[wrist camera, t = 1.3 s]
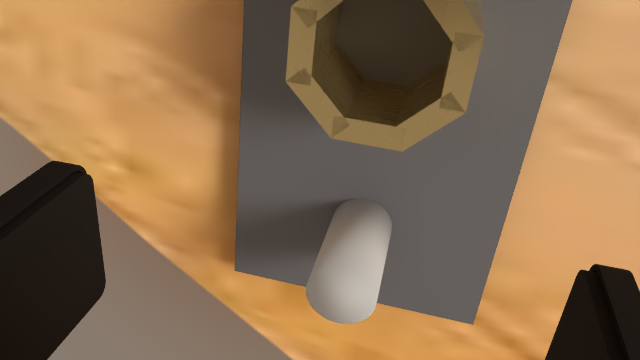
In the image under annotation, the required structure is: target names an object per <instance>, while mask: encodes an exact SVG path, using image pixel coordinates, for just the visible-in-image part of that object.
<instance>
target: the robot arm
mask: <svg viewBox="0 0 640 360" xmlns="http://www.w3.org/2000/svg"><path fill="white" fill-rule="evenodd" d="M105 283H106V280H105V271H104V263H103V255H102V247H101V239H100V232H99V224H98V216H97V208H96V200H95V192H94V184H93V179H92V177H91V176H90V175H88V174H87V173H86V171H85V169H84V168H83V167H82V166H80V165H75V164H69V163H64V162H59V161H51V162H49V163H47V164H46V165H44V166H43V167H42V168H40V169H39V170H37V171H36V172H34V173H33V174H32V175H30V176H29V177H27V178H26V179H24V180H23V181H21V182H20V183H19V184H17V185H16V186H14V187H13V188H12V189H10V190H9V191H7V192H6V193H4V194H3V195H1V196H0V360H47V359H48V358H49V357H50V356H51V354H52V353H53V352H54V351H55V350H56V349H57V347H58V346H59V345H60V344H61V343H62V341H63V340H64V339H65V338H66V337H67V336H68V335H69V333H70V332H71V331H72V330H73V329H74V328H75V326H76V325H77V324H78V323H79V322H80V321H81V319H82V318H83V317H84V316H85V315H86V314H87V313H88V311H89V310H90V309H91V308H92V307H93V306H94V304H95V303H96V302H97V301H98V300H99V298H100V297H101V296H102V294H103V292H104V288H105ZM545 360H640V291H639V289H638V286H637V284H636V281H635V279H634V276H633V274H632V273H631V271H629V270H624V269H619V268H614V267H609V266H603V265H598V264H595V265H593V266H592V267H591V268H590V270H589V271H586V270H580V271H579V272H578V274H577V276H576V279H575V281H574V284H573V287H572V289H571V292H570V295H569V297H568V300H567V303H566V305H565V308H564V310H563V313H562V316H561V318H560V321H559V324H558V326H557V329H556V332H555V334H554V337H553V340H552V342H551V345H550V348H549V350H548V353H547V355H546V358H545Z"/></svg>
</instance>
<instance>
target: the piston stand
mask: <svg viewBox="0 0 640 360" xmlns="http://www.w3.org/2000/svg"><path fill="white" fill-rule="evenodd" d="M297 1H298V0H244V22H243V51H242V79H241V108H240V136H239V165H238V193H237V222H236V251H235V271H238V272H243V273H247V274H252V275H256V276H260V277H265V278H269V279H274V280H278V281H283V282H287V283H291V284H296V285H300V286H305V287H306V295H307V299H308V301H309V303H310V305H311V306H312V308H313V309H314V310H315V311H316V312H317V313H318V314H320V315H321V316H323V317H324V318H326V319H328V320H330V321H333V322H337V323H342V324H352V323H357V322H360V321H363V320H364V319H366V318H368V317H369V316H370V315H371V314H372V313H373V311H374V309H375V307H376V304H377V303H380V304H384V305H389V306H393V307H398V308H402V309H406V310H411V311H415V312H420V313H424V314H429V315H433V316H437V317H442V318H446V319H451V320H455V321H460V322H464V323H468V324H473V323H474V320H475V316H476V313H477V310H478V307H479V303H480V300H481V297H482V294H483V290H484V287H485V284H486V281H487V277H488V274H489V271H490V268H491V264H492V261H493V258H494V254H495V251H496V248H497V245H498V241H499V238H500V235H501V232H502V228H503V225H504V222H505V219H506V215H507V212H508V209H509V205H510V202H511V199H512V196H513V192H514V189H515V186H516V183H517V179H518V176H519V173H520V170H521V166H522V163H523V160H524V157H525V153H526V150H527V147H528V143H529V140H530V137H531V134H532V130H533V127H534V124H535V121H536V117H537V114H538V111H539V108H540V104H541V101H542V98H543V95H544V91H545V88H546V85H547V81H548V78H549V75H550V72H551V68H552V65H553V62H554V59H555V55H556V52H557V49H558V46H559V42H560V39H561V36H562V32H563V29H564V26H565V23H566V19H567V16H568V13H569V10H570V6H571V3H572V0H476V1H477V2H478V4H479V5H480V7H481V11H482V20H483V29H484V39H483V44H482V48H481V52H480V56H479V60H478V64H477V68H476V73H475V77H474V81H473V85H472V89H471V93H470V98H469V102H468V106H467V110H466V113H465V114H463V115H461V116H460V117H458V118H457V119H455V120H453V121H452V122H450V123H448V124H447V125H445V126H443V127H442V128H440V129H439V130H437V131H435V132H434V133H432V134H430V135H429V136H427V137H425V138H424V139H422V140H420V141H419V142H417V143H416V144H414V145H412V146H411V147H409V148H407V149H406V150H404V151H402V152H401V151H396V150H391V149H385V148H380V147H374V146H369V145H364V144H358V143H353V142H348V141H342V140H337V139H332V138H330V137H329V135H328V134H327V133H326V132H325V130H324V129H323V128H322V127H321V125H320V124H319V123H318V122H317V120H316V119H315V118H314V117H313V115H312V114H311V113H310V112H309V110H308V109H307V108H306V107H305V105H304V104H303V103H302V101H301V100H300V99H299V98H298V96H297V95H296V94H295V93H294V91H293V90H292V89H291V88H290V86H289V85H288V84H287V83H286V69H287V55H288V42H289V28H290V15H291V6H292V5H293V4H295V3H296V2H297ZM449 41H450V38H449V37H448V35H447V34H446V32H445V31H444V30H443V28H442V27H441V25H440V24H439V22H438V21H437V20H436V18H435V17H434V15H433V14H432V12H431V11H430V9H429V8H428V7H427V5H426V4H425V2H424V1H423V0H343V1H342V2H341V8H340V16H339V25H338V34H337V42H336V43H337V44H338V45H339V47H340V48H341V49H342V51H343V52H344V53H345V55H346V56H347V57H348V59H349V60H350V61H351V63H352V64H353V65H354V67H355V68H356V69H357V71H358V72H359V73H360V75H361V76H362V77H363V78H364V79H370V80H376V81H382V82H387V83H393V84H399V85H405V86H408V85H409V84H411V83H412V82H414V81H415V80H417V79H418V78H420V77H421V76H423V75H424V74H426V73H427V72H429V71H430V70H432V69H433V68H435V67H436V66H438V65H439V64H441V63H442V62H444V61H445V60H446V55H447V51H448V46H449Z"/></svg>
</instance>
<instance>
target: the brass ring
mask: <svg viewBox="0 0 640 360" xmlns="http://www.w3.org/2000/svg"><path fill="white" fill-rule="evenodd" d="M342 1H343V0H298V1H297V2H296V3H295V4H293V5H292V6H291V15H290V28H289V42H288V55H287V69H286V83H287V84H288V85H289V86H290V88H291V89H292V90H293V91H294V93H295V94H296V95H297V96H298V98H299V99H300V100H301V101H302V103H303V104H304V105H305V107H306V108H307V109H308V110H309V112H310V113H311V114H312V115H313V117H314V118H315V119H316V120H317V122H318V123H319V124H320V125H321V127H322V128H323V129H324V130H325V132H326V133H327V134H328V135H329V137H330V138H332V139H337V140H342V141H348V142H353V143H358V144H364V145H369V146H374V147H380V148H385V149H391V150H396V151H401V152H402V151H404V150H406V149H407V148H409V147H411V146H412V145H414V144H416V143H417V142H419V141H420V140H422V139H424V138H425V137H427V136H429V135H430V134H432V133H434V132H435V131H437V130H439V129H440V128H442V127H443V126H445V125H447V124H448V123H450V122H452V121H453V120H455V119H457V118H458V117H460V116H461V115H463V114H465V113H466V110H467V106H468V102H469V98H470V93H471V89H472V85H473V81H474V77H475V73H476V68H477V64H478V60H479V56H480V52H481V48H482V44H483V39H484V29H483V20H482V11H481V7H480V5H479V4H478V2H477V1H476V0H423V1H424V2H425V4H426V5H427V7H428V8H429V9H430V11H431V12H432V14H433V15H434V17H435V18H436V20H437V21H438V22H439V24H440V25H441V27H442V28H443V30H444V31H445V32H446V34H447V35H448V37H449V38H450V41H449V46H448V51H447V55H446V60H445V61H444V62H442V63H441V64H439V65H438V66H436V67H435V68H433V69H432V70H430V71H429V72H427V73H426V74H424V75H423V76H421V77H420V78H418V79H417V80H415V81H414V82H412V83H411V84H409V85H408V86H405V85H399V84H393V83H387V82H382V81H376V80H370V79H364V78H363V77H362V76H361V75H360V73H359V72H358V71H357V69H356V68H355V67H354V65H353V64H352V63H351V61H350V60H349V59H348V57H347V56H346V55H345V53H344V52H343V51H342V49H341V48H340V47H339V45H338V44H337V43H336V42H337V34H338V25H339V16H340V8H341V2H342Z"/></svg>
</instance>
